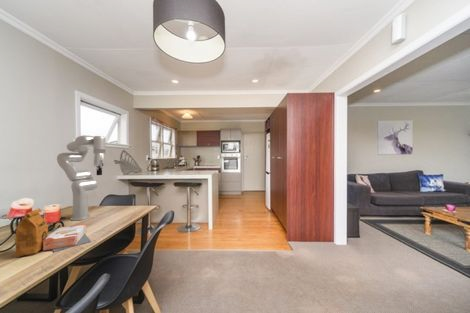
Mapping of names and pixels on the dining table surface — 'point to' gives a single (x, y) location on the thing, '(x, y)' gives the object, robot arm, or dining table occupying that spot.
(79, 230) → the cracker box
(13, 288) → the dining table surface
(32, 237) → the coffee package
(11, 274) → the dining table surface
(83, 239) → the mat
